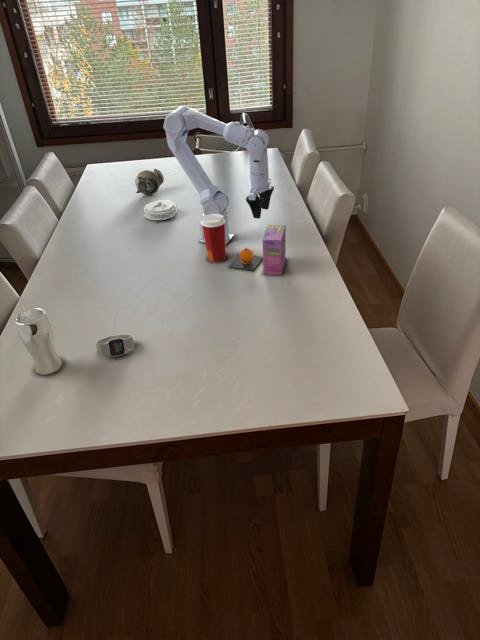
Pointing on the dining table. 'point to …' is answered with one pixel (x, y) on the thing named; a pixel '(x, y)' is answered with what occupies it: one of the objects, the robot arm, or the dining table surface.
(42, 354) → the beer glass
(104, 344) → the wristwatch
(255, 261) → the felt pad
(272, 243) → the box
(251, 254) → the clementine
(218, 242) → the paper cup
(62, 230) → the dining table surface
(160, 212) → the lid
